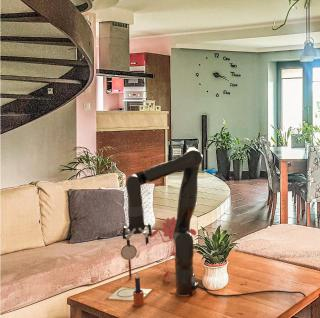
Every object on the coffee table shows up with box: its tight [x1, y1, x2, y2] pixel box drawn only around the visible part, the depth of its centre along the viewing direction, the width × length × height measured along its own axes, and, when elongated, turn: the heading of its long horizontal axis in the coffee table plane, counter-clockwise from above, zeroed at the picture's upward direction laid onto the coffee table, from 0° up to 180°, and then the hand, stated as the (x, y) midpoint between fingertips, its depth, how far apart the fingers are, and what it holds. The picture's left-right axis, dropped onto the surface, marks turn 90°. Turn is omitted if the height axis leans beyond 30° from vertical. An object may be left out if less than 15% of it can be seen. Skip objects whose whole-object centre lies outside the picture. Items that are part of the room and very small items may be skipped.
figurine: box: [149, 216, 197, 283], centre depth 247 cm, size 15×26×35 cm, turn 115°
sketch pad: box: [107, 286, 153, 301], centre depth 227 cm, size 18×14×1 cm
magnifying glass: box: [120, 244, 138, 280], centre depth 247 cm, size 9×2×20 cm, turn 105°
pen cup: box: [133, 288, 145, 307], centre depth 214 cm, size 5×5×7 cm
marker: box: [134, 276, 141, 293], centre depth 214 cm, size 2×2×14 cm
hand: (137, 245), depth 221 cm, fingers open, 8 cm apart
